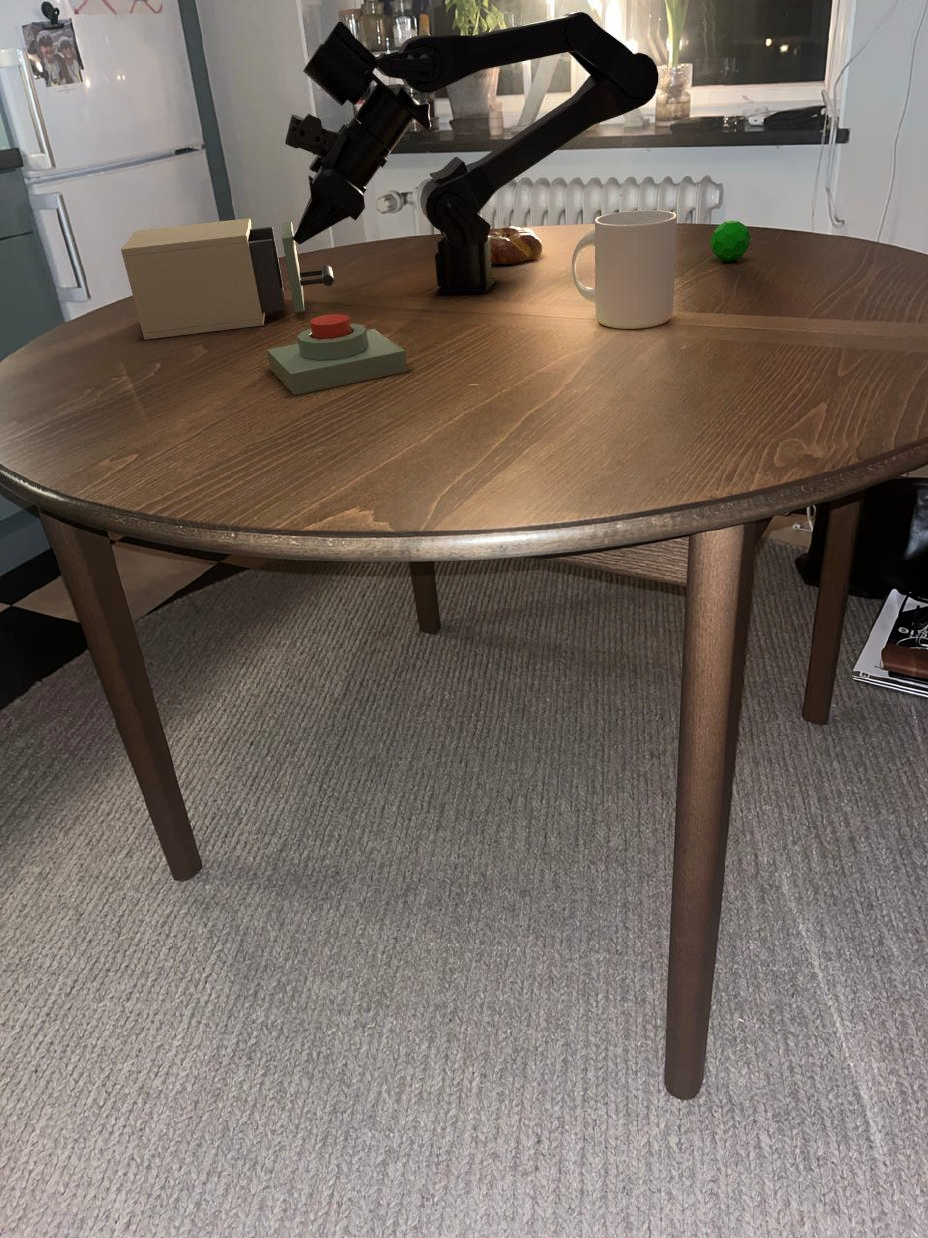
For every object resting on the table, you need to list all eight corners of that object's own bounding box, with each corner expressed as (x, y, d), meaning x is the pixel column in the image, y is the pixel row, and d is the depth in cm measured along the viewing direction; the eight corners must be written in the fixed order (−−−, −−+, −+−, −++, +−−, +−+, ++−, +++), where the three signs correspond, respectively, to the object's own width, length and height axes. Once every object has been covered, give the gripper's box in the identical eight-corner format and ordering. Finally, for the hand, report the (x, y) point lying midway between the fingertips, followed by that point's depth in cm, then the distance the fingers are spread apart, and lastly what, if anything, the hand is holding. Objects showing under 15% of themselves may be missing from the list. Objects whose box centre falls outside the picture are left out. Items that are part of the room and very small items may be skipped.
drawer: (334, 287, 127) (323, 217, 122) (338, 307, 117) (327, 232, 113) (202, 303, 125) (186, 233, 121) (195, 324, 116) (177, 249, 111)
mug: (591, 304, 112) (590, 208, 107) (685, 312, 106) (690, 210, 100) (555, 323, 107) (552, 222, 101) (652, 333, 100) (655, 226, 95)
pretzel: (470, 251, 144) (468, 226, 142) (541, 246, 143) (541, 220, 141) (466, 269, 134) (464, 241, 132) (542, 263, 133) (541, 236, 131)
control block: (376, 348, 104) (371, 311, 102) (407, 371, 96) (403, 332, 94) (270, 369, 100) (263, 332, 98) (294, 395, 92) (286, 355, 90)
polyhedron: (748, 255, 127) (751, 217, 125) (747, 263, 123) (750, 224, 121) (711, 256, 129) (713, 218, 126) (708, 264, 125) (710, 226, 122)
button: (345, 328, 98) (342, 311, 98) (356, 337, 95) (354, 319, 94) (308, 335, 97) (305, 318, 96) (318, 344, 94) (316, 326, 93)
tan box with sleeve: (265, 301, 127) (250, 217, 121) (263, 325, 116) (246, 234, 111) (156, 314, 126) (135, 230, 120) (144, 339, 115) (120, 249, 109)
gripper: (315, 81, 117) (244, 187, 122) (319, 88, 102) (238, 208, 106) (385, 145, 122) (314, 244, 127) (400, 160, 107) (318, 272, 111)
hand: (296, 241), depth 118 cm, fingers closed, pressing on drawer
